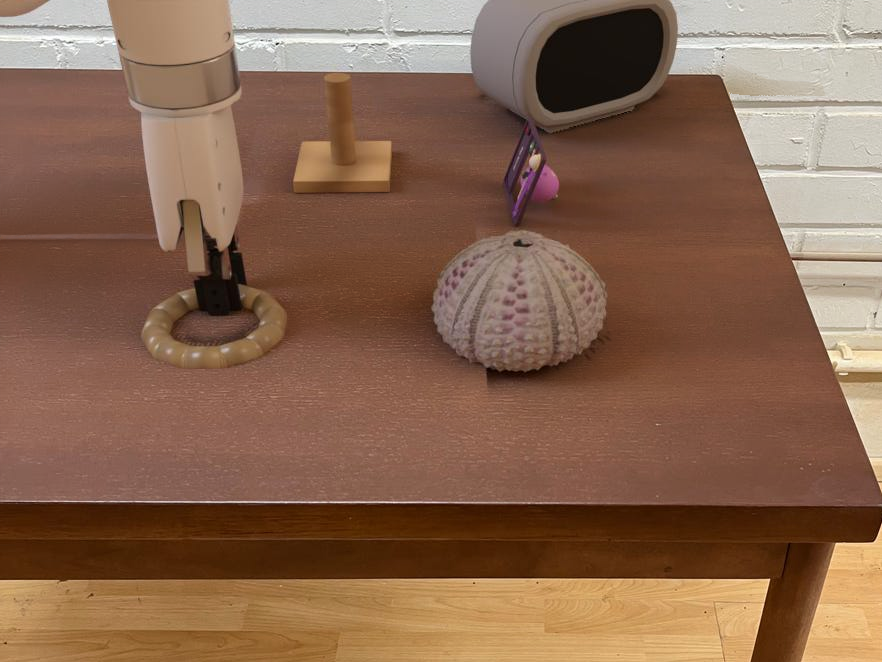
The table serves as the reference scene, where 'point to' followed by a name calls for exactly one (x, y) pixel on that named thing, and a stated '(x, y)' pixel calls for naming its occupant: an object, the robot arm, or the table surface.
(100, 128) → the table surface
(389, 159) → the stand
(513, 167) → the purple toy package
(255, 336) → the ring
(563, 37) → the alarm clock
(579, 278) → the sea urchin shell
